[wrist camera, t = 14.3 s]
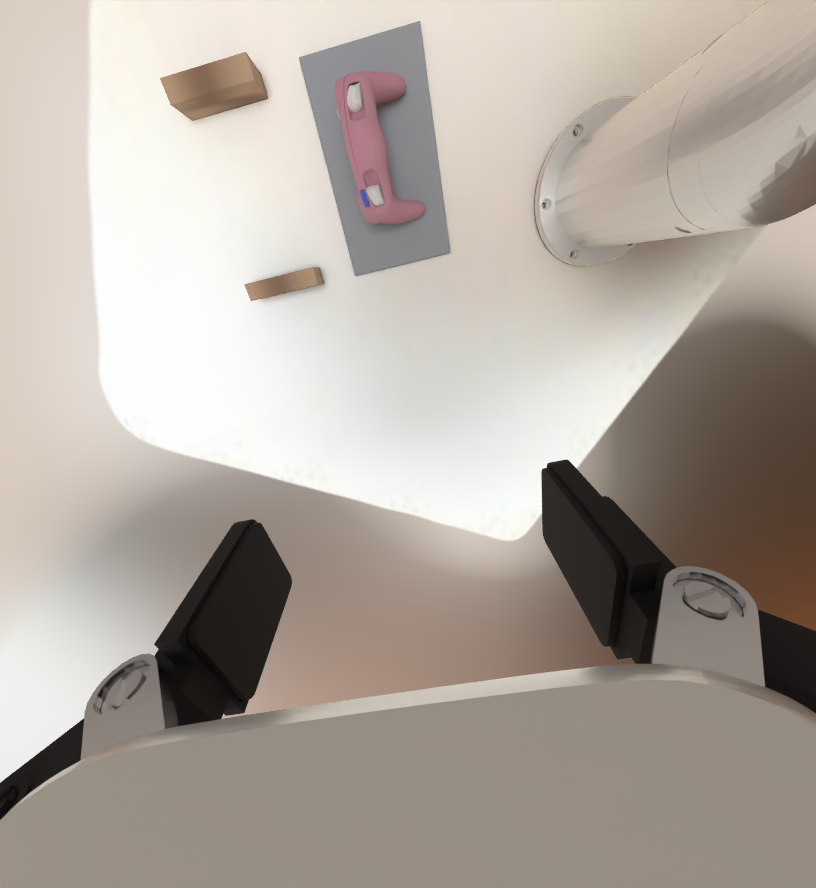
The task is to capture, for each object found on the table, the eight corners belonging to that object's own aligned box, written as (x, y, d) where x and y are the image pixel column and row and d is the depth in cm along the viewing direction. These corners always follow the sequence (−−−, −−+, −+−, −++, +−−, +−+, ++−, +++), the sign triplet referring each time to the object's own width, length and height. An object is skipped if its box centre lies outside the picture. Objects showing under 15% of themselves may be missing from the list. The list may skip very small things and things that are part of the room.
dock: (260, 74, 27) (245, 52, 24) (324, 283, 34) (318, 284, 32) (183, 97, 27) (160, 78, 25) (262, 298, 35) (250, 300, 32)
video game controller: (362, 99, 28) (312, 70, 23) (408, 73, 26) (364, 35, 21) (389, 230, 33) (352, 231, 28) (430, 217, 31) (398, 215, 26)
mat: (419, 26, 26) (420, 21, 25) (449, 252, 33) (450, 252, 33) (300, 61, 26) (298, 57, 26) (355, 275, 34) (355, 275, 33)
